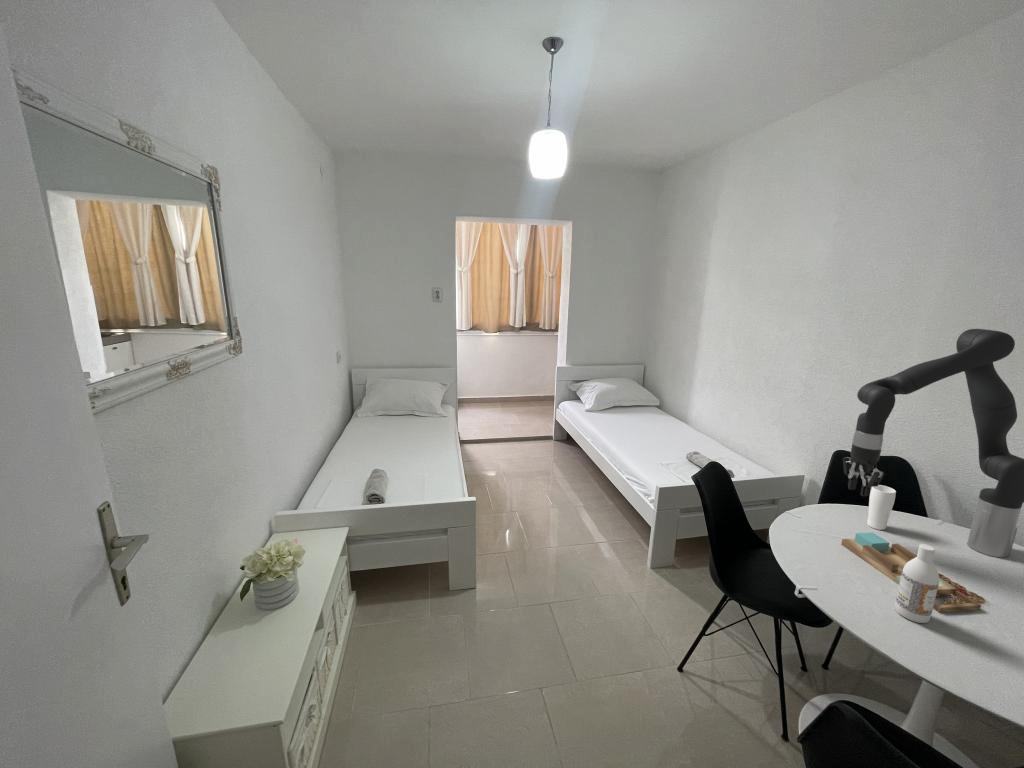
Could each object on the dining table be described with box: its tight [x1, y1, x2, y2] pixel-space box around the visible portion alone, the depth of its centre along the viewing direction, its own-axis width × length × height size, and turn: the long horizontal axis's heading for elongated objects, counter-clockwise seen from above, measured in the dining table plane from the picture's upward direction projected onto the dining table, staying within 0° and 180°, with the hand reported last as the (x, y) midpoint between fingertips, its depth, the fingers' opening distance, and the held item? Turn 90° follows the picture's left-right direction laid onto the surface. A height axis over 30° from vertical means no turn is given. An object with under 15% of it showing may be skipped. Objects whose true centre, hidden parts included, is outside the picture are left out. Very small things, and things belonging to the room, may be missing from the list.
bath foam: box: [894, 543, 940, 624], centre depth 112 cm, size 7×7×20 cm
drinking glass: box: [866, 484, 897, 531], centre depth 154 cm, size 7×7×15 cm
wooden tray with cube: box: [841, 538, 982, 614], centre depth 130 cm, size 12×32×4 cm, turn 5°
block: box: [854, 531, 890, 552], centre depth 140 cm, size 6×6×3 cm
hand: (857, 492), depth 145 cm, fingers open, 4 cm apart
